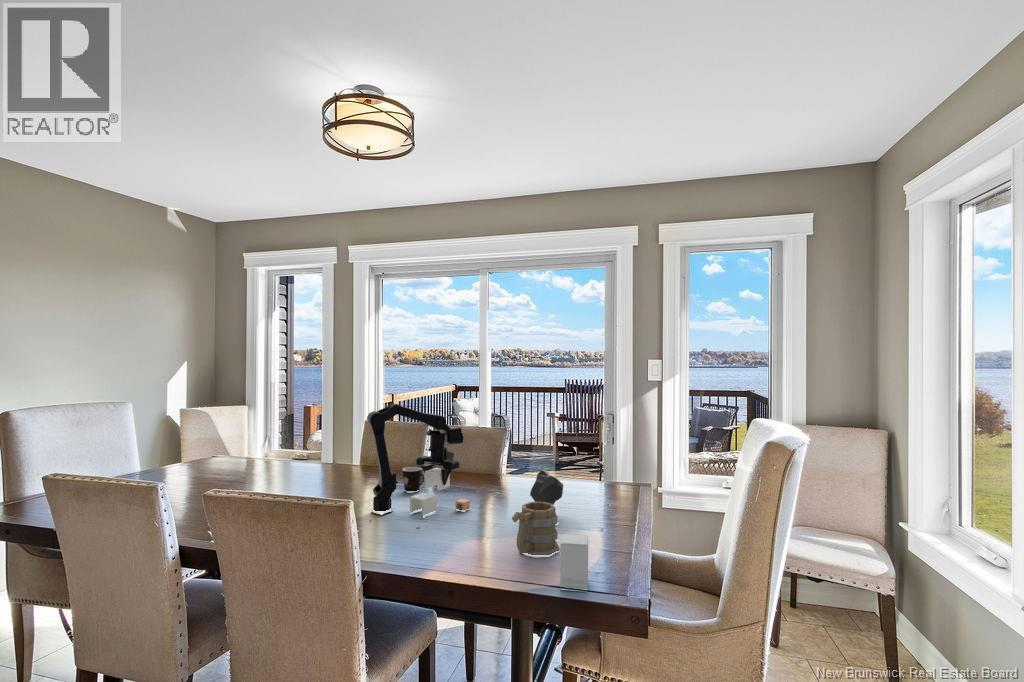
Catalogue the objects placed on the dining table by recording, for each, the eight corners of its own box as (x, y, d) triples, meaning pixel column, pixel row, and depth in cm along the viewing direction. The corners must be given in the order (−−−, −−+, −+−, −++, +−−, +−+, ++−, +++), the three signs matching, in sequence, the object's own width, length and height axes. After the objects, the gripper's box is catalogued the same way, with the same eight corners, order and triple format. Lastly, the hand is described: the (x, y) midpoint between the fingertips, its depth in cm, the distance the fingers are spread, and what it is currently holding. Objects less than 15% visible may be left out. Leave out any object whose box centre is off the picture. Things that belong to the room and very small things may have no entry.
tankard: (534, 540, 175) (534, 495, 175) (566, 549, 167) (566, 502, 167) (495, 558, 160) (495, 509, 160) (528, 569, 152) (528, 517, 152)
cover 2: (438, 490, 209) (438, 473, 209) (425, 488, 213) (425, 470, 213) (449, 486, 215) (449, 469, 215) (436, 484, 219) (436, 467, 219)
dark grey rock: (570, 513, 203) (570, 467, 203) (557, 525, 189) (557, 476, 189) (536, 509, 209) (536, 464, 209) (521, 520, 195) (521, 472, 195)
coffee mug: (400, 490, 237) (400, 468, 237) (418, 488, 240) (419, 466, 241) (406, 496, 226) (406, 473, 226) (425, 494, 230) (425, 471, 230)
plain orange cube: (463, 513, 204) (463, 502, 204) (455, 511, 206) (455, 501, 206) (469, 510, 208) (469, 500, 208) (461, 508, 210) (461, 498, 210)
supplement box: (587, 593, 137) (587, 544, 137) (559, 591, 138) (559, 542, 138) (588, 581, 144) (588, 535, 144) (561, 578, 145) (561, 533, 146)
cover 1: (423, 518, 197) (424, 499, 197) (409, 515, 201) (409, 496, 201) (436, 513, 203) (436, 495, 203) (422, 510, 207) (422, 492, 207)
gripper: (467, 444, 216) (467, 482, 216) (433, 440, 226) (433, 476, 226) (450, 449, 207) (450, 488, 206) (415, 444, 217) (415, 482, 216)
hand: (437, 483), depth 214 cm, fingers closed on cover 2, 7 cm apart
